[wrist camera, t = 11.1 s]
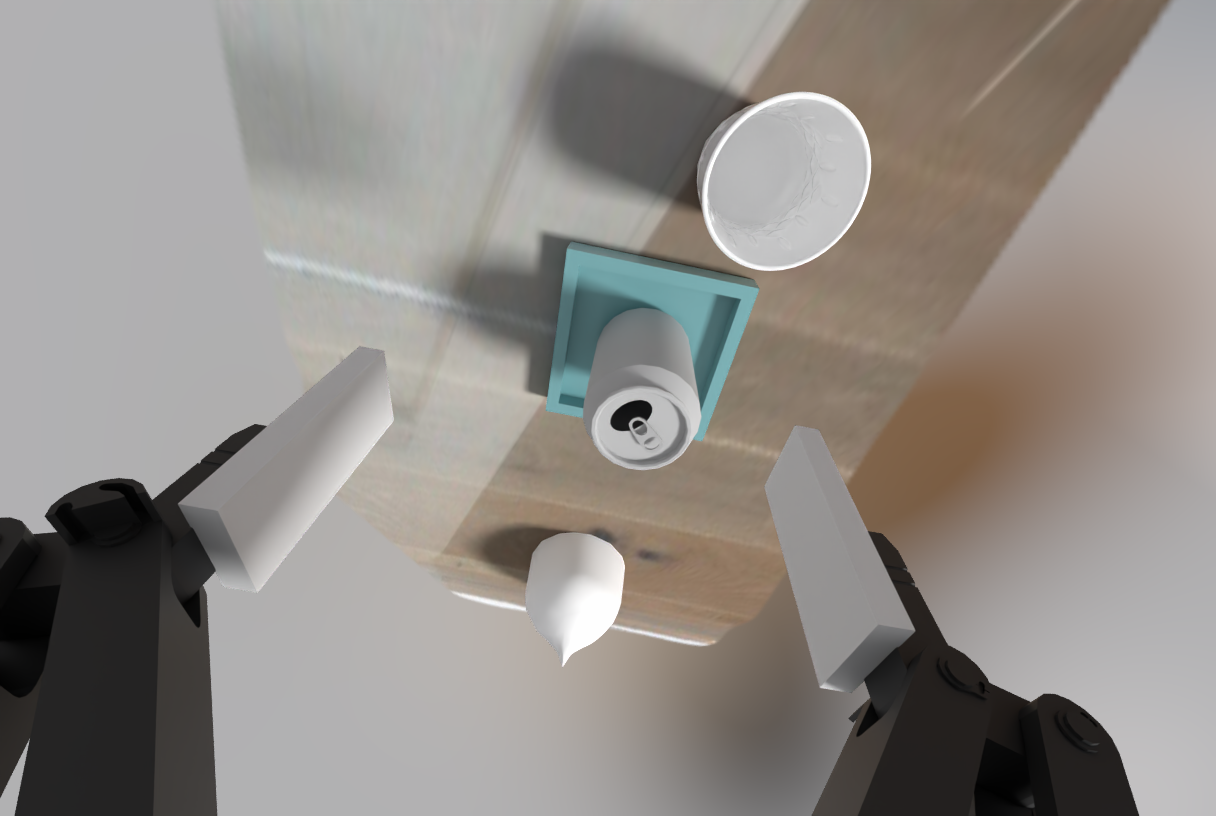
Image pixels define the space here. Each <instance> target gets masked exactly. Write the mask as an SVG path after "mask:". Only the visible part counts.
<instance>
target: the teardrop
mask: <svg viewBox="0 0 1216 816" xmlns="http://www.w3.org/2000/svg"><path fill="white" fill-rule="evenodd" d="M624 571H625V565H624V561H623V558H622V556H621V555H620V554H619V553H618V552H617V550H616V549H615V548H614V547H613V546H612V545H611V544H610V543H608V542H606V541H604V540H601V539H599V538H597V537H595V536H593V535H590V534H583V533H577V532H571V533H559V534H557V535H555V536H552V537H550V538H547V539H545V540H543V541H541V543H540V544H539V545H538V547H537V548H536V549H535V551H534V552H533V554H532V559H531V564H530V570H529V575H528V581H527V586H526V594H525V603H526V610H527V613H528V615H529V617H530V619H531V621H532V623H533V625H534V627H535V629H536V631H537V632H538V633H539V634H540V635H541V636H542V637H544V638H545V639H546V640H547V641H548V642H549V643H550V645H551V646H552V647H553V648H554V649H555V651H556V652H557V654H558V656H559V659H560V662H561V665H562V667H563V665H564V664H565V663H566V661H567V660H568V658H569V657H570V655H571V654H572V653H574V652H575V651H577V650H579V649H581V648H583V647H585V646H587V645H589V644H591V643H593V642H594V641H595V640H597V639H598V638H599V637H600V636H601V635H602V634H604V633H605V631H606V630H607V629H608V628H609V627H610V626H611V624H612V623H613V622H614V620H615V618H616V615H617V613H618V611H619V608H620V604H621V597H622V589H623V580H624Z"/></svg>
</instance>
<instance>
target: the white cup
mask: <svg viewBox="0 0 1216 816" xmlns="http://www.w3.org/2000/svg"><path fill="white" fill-rule="evenodd" d="M870 173H871V156H870V149H869V144H868V140H867V137H866V135H865V132H864V130H863V128H862V126H861V124H860V123H859V121H858V120H857V118H856V117H855V116H854V114H853V113H852V112H851V111H850V110H849V109H848V108H847V107H845V106H844V105H843V104H841V103H840V102H838V101H837V100H835V99H833V98H831V97H828V96H825V95H822V94H818V93H812V92H792V93H786V94H782V95H778V96H775V97H772V98H770V99H767V100H764V101H761V102H758V103H755V104H753V105H750V106H748V107H746V108H744V109H742V110H740V111H738V112H736V113H735V114H733V115H732V116H730V117H729V118H728V119H726V120H724V121H723V122H722V123H721V124H720V125H719V126H718V127H717V128H716V130H715V131H714V132H713V133H712V134H711V135H710V137H709V138H708V139H707V140H706V141H705V144H704V147H703V150H702V153H701V156H700V159H699V162H698V164H697V189H698V196H699V202H700V206H701V209H702V212H703V216H704V220H705V223H706V226H707V229H708V231H709V233H710V235H711V237H712V239H713V240H714V242H715V243H716V245H717V246H718V247H719V248H720V250H721V251H722V252H723V253H724V254H726V255H727V256H728V257H729V258H731V259H732V260H734V261H735V262H737V263H739V264H741V265H743V266H746V267H749V268H752V269H757V270H765V271H775V270H784V269H789V268H793V267H796V266H799V265H802V264H804V263H806V262H809V261H811V260H812V259H814V258H816V257H818V256H819V255H821V254H822V253H824V252H825V251H826V250H828V249H829V248H830V247H831V246H832V245H834V244H835V243H836V242H837V241H838V240H839V239H840V238H841V237H842V236H843V234H844V233H845V232H846V231H847V230H848V228H849V227H850V225H851V224H852V223H853V221H854V219H855V218H856V216H857V214H858V212H859V210H860V208H861V206H862V204H863V202H864V199H865V196H866V193H867V190H868V185H869V180H870Z"/></svg>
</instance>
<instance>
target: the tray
mask: <svg viewBox="0 0 1216 816" xmlns="http://www.w3.org/2000/svg"><path fill="white" fill-rule="evenodd" d="M758 291H759V287H758V285H757V284H756V282H755V281H754V280H753V279H748V278H743V277H739V276H734V275H729V274H724V273H719V272H715V271H710V270H705V269H700V268H696V267H691V266H686V265H681V264H677V263H672V262H667V261H662V260H657V259H653V258H648V257H643V256H638V255H634V254H629V253H624V252H619V251H614V250H610V249H605V248H600V247H595V246H591V245H586V244H581V243H576V242H572V241H571V243H570V245H569V246H568V248H567V253H566V261H565V268H564V276H563V283H562V291H561V299H560V306H559V314H558V321H557V329H556V337H555V344H554V352H553V359H552V367H551V374H550V382H549V390H548V397H547V405H546V411H550V412H555V413H560V414H565V415H571V416H576V417H581V418H583V407H584V400H585V395H586V391H587V386H588V382H589V378H590V373H591V369H592V364H593V360H594V355H595V351H596V346H597V342H598V339H599V337H600V335H601V332H602V330H603V328H604V327H605V326H606V325H607V324H608V323H609V322H610V321H611V320H612V319H613V318H614V317H615V316H617V315H619V314H621V313H623V312H625V311H627V310H632V309H637V308H649V309H657V310H659V311H662V312H664V313H666V314H668V315H671V316H672V317H673V318H674V319H675V320H676V321H677V322H678V323H679V324H681V325H682V327H683V329H684V331H685V333H686V335H687V336H688V339H689V345H690V351H691V356H692V362H693V368H694V374H695V379H696V385H697V391H698V397H699V403H700V410H701V420H700V424H699V428H698V432H697V434H696V435H695V436H694V438H693V440H698V441H702V440H703V438H704V435H705V432H706V430H707V427H708V424H709V422H710V419H711V416H712V414H713V411H714V408H715V406H716V403H717V400H718V398H719V395H720V393H721V390H722V387H723V385H724V382H725V379H726V377H727V374H728V371H729V369H730V366H731V363H732V361H733V358H734V355H735V353H736V350H737V347H738V345H739V342H740V339H741V337H742V334H743V331H744V329H745V326H746V323H747V321H748V318H749V315H750V313H751V310H752V307H753V305H754V302H755V299H756V297H757V294H758Z"/></svg>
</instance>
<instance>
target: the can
mask: <svg viewBox="0 0 1216 816" xmlns="http://www.w3.org/2000/svg"><path fill="white" fill-rule="evenodd" d="M700 420H701V410H700V403H699V397H698V391H697V385H696V379H695V374H694V368H693V362H692V356H691V351H690V345H689V339H688V336H687V335H686V333H685V331H684V329H683V327H682V325H681V324H679V323H678V322H677V321H676V320H675V319H674V318H673V317H672V316H671V315H668V314H666V313H664V312H662V311H659V310H657V309H649V308H637V309H632V310H627V311H625V312H623V313H621V314H619V315H617V316H615V317H614V318H613V319H612V320H611V321H610V322H609V323H608V324H607V325H606V326H605V327H604V328H603V330H602V332H601V335H600V337H599V339H598V342H597V346H596V351H595V355H594V360H593V364H592V369H591V373H590V378H589V382H588V386H587V391H586V395H585V400H584V407H583V421H584V424H585V427H586V431H587V433H588V435H589V436H590V437H591V439H592V440H593V443H594V445H595V446H596V447H597V449H598V450H599V452H600V453H601V454H602V455H603V456H604V457H606V458H607V459H608V460H610V461H611V462H613V463H615V464H617V465H620V466H622V467H625V468H629V469H637V470H647V469H656V468H659V467H662V466H664V465H667V464H670V463H672V462H673V461H674V460H676V459H677V458H678V457H679V456H681V455H682V454H683V453H684V451H685V450H686V448H687V447H688V445H689V444H690V442H691V441H692V439H693V438H694V436H695V435H696V434H697V432H698V428H699V424H700Z"/></svg>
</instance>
